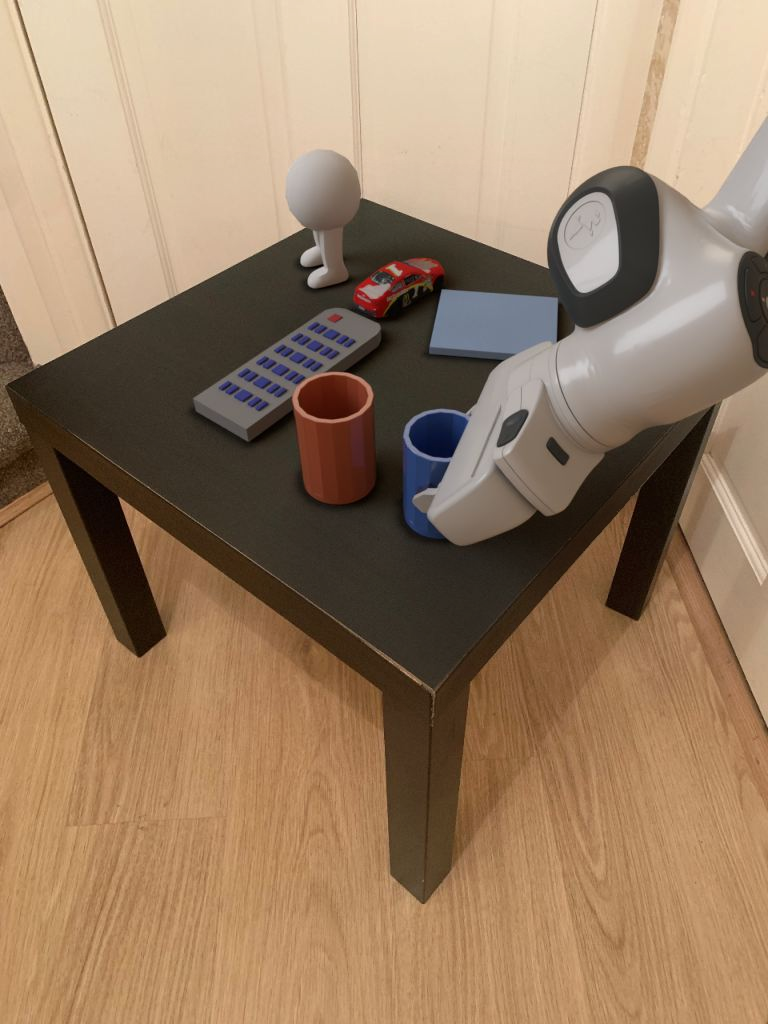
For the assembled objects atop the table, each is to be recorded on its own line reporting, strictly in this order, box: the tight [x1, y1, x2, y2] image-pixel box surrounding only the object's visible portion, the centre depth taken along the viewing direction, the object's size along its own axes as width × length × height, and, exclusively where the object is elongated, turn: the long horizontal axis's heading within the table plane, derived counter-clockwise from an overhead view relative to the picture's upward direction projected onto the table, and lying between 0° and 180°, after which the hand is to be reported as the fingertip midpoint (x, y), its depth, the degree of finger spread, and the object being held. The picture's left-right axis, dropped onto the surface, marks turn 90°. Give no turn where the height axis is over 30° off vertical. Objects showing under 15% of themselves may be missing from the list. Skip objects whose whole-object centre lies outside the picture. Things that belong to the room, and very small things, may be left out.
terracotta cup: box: [292, 371, 378, 506], centre depth 72 cm, size 7×7×10 cm
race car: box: [352, 257, 446, 318], centre depth 96 cm, size 13×5×4 cm, turn 134°
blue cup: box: [402, 408, 470, 540], centre depth 69 cm, size 7×7×10 cm
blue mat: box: [428, 288, 559, 361], centre depth 92 cm, size 14×12×1 cm
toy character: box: [285, 148, 362, 289], centre depth 96 cm, size 9×9×15 cm
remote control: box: [192, 307, 382, 443], centre depth 87 cm, size 8×23×2 cm, turn 141°
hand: (434, 470), depth 69 cm, fingers closed on blue cup, 7 cm apart
